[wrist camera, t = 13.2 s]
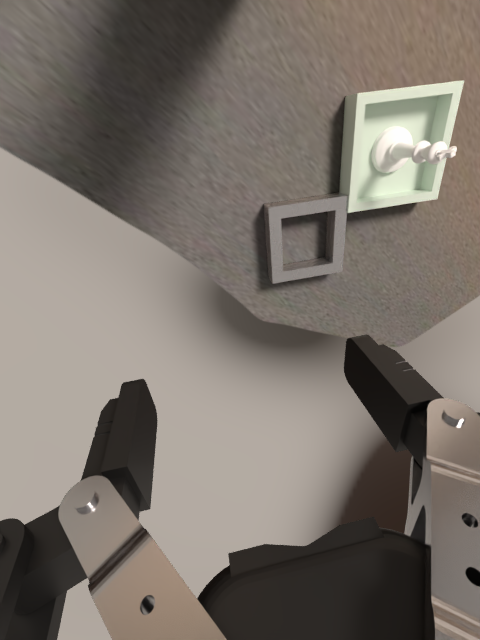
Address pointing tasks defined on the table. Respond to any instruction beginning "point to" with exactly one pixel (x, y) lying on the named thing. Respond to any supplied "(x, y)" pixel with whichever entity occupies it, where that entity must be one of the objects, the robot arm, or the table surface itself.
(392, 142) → the chess piece
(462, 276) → the table surface
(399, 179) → the tray
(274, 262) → the collar block
